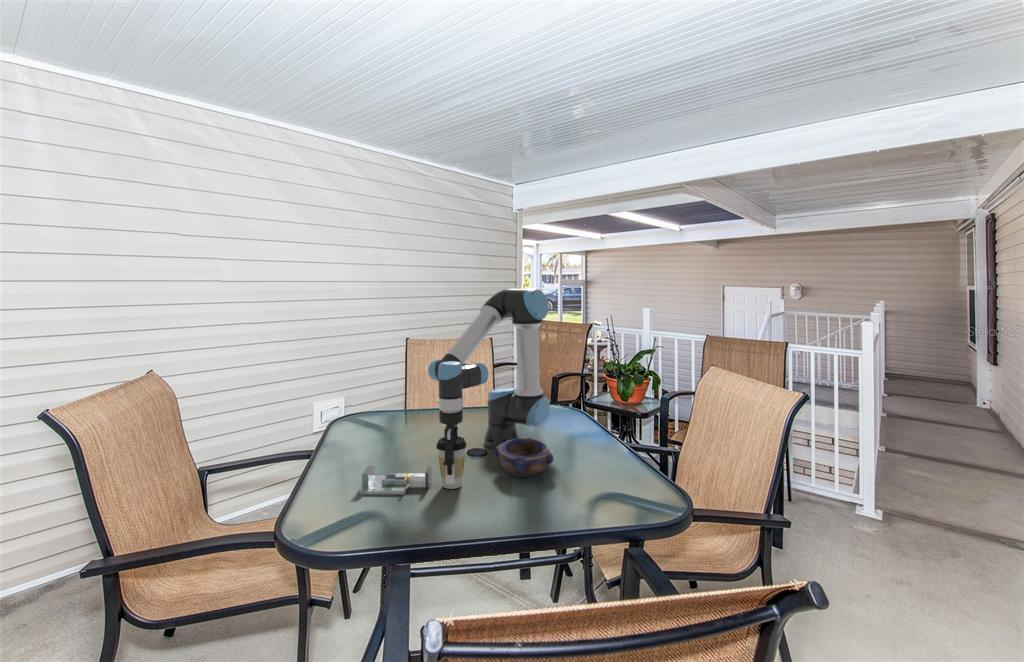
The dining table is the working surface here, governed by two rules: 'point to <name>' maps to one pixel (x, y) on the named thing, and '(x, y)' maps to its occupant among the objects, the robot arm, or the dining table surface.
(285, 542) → the dining table surface
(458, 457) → the coffee cup
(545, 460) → the bowl
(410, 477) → the plunger
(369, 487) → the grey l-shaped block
